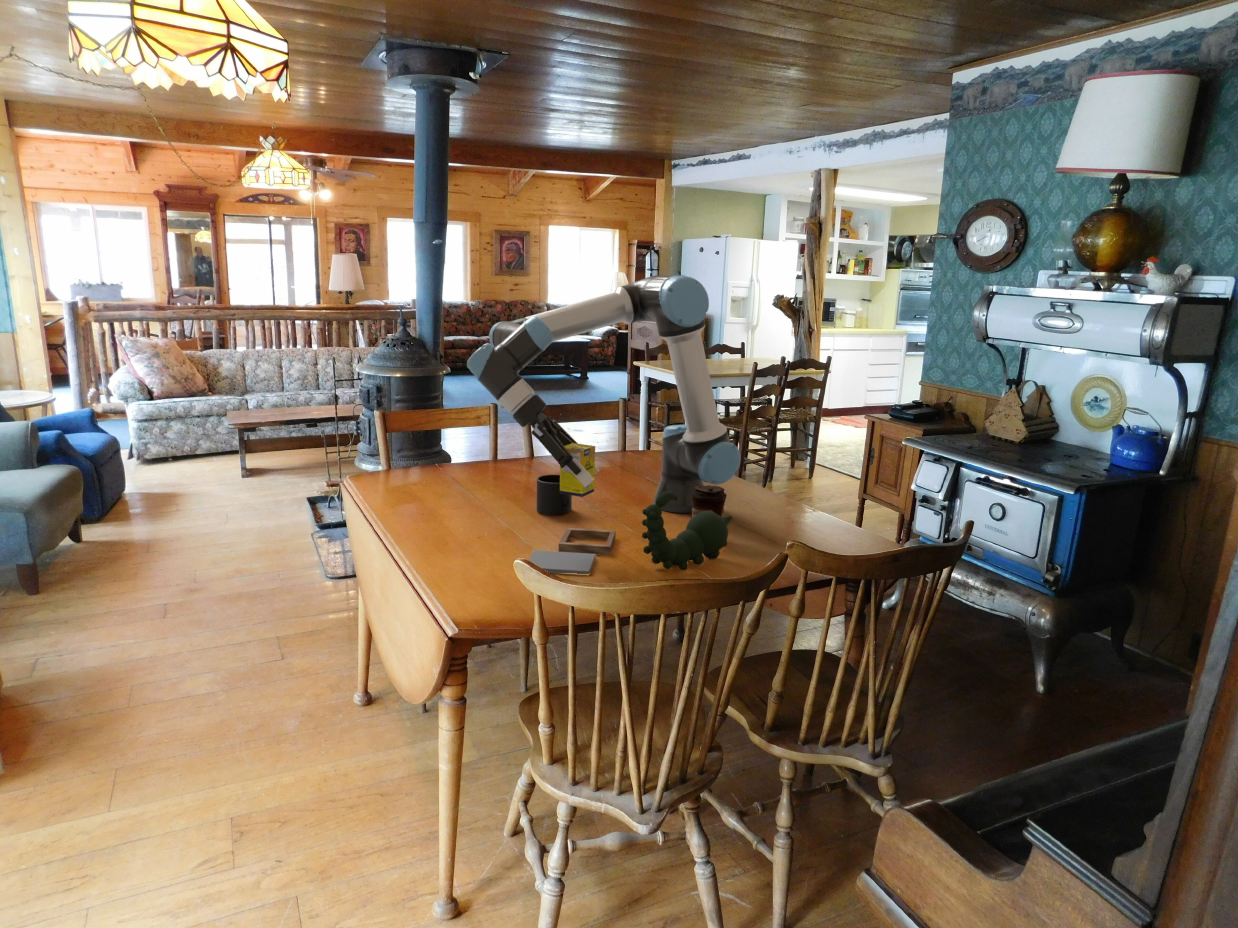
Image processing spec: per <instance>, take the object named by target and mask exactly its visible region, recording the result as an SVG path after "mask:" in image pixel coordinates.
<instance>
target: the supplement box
mask: <svg viewBox="0 0 1238 928" xmlns="http://www.w3.org/2000/svg"><path fill="white" fill-rule="evenodd" d="M577 443H578V442H577ZM577 443H571V444H568V445H565V446H564V447H565V448H566V449H567V451H568V452H569V453H570V455H571V456H572V457H573V459H574V458H576V459H577V460H578V462H579V463H580V464H581V465H582V466H583V467H584V468H585V469H586V470H587V471H588V472H589V473H590V475H591V476H592V477H593V478H594V480H593V481H592V482H591V483H590V484H589V485H588V486H586V487H584V486H583V485H582V483H581V482H580V481H579V480H578V479H577V478H576V477H575V476H574V475H573V474H572V473H571V472H570V471H569V469H568V468H567V467H566V466H565V467H563V468H561V467H560V466H559V467H560V468H559V469H560V470H559V475H560V494H567V495H572V497H573V496H575V497H580V498H584V497H586V496H587V495H590V494H592V493H593V492H595V478H596V477H595V466H596V445H592V444H591V445H590V444H584V443H583V444H582V443H578V444H577Z"/></svg>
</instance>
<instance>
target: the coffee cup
mask: <svg viewBox="0 0 1238 928" xmlns="http://www.w3.org/2000/svg"><path fill="white" fill-rule="evenodd" d="M726 499H727V493H725V488H724V487H722V486H717V485H704V486H696V487H695V490H694V491H693V492H692V500H693V506H692V513H691V514H692V515H691V516H692V517H694V516H695V515H697V514H698V513H701V512H713V513H716V514H718V515H719V516H720V517H724V511H725V509H724V508H725V504H726ZM692 517H691V518H692Z"/></svg>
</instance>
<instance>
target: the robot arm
mask: <svg viewBox="0 0 1238 928" xmlns="http://www.w3.org/2000/svg"><path fill="white" fill-rule="evenodd" d="M709 307H710V300H709V295H708V292H707V290H706V288H705V286H704V285H703V284H702V283H701V282H700V281H698V280H697V279H696V278H694V277H691V276H687V275H683V274H676V275H669V274H668V275H662V274H661V275H660V274H658V275H657V274H655V275H651V276H649V277H645V278H642V279H639V280H636V281H633V282H631V283H628V284H626V285H625V284H624V285H622V286H618V287H616V288H615V290H614V291H613V292H612V293H607V294H605V295H601V296H597V297H594V298H591V299H589V298H588V299H587V300H583V301H579V302H575V303H571V304H568V305H565V306H561V307H558V308H557V307H556V308H554V309H551V310H547V311H543V312H539V313H536V314H533V315H528V316H525V317H522V318H518V319H515V320H511V321H506V320H504V321H503V320H502V321H499V322H497V323H495V324H494V325H493V326H492V327H491V328H490V331H489V334H488V341H489V342H487V343H484V344H483V345H482V346H480V347H479V348H478V349H477V350H475V351H474V352H473V353H472V354H471V356H469V358H468V359H467V361H466V368H467V369H469V371H470V372H471V373H472V375H473V376H474V377H475V378H476V380H477V381H478V382H480V384H481V385H482V386H483V387H484V388H485V389H486V390H487V391H488V392H489V393H490V394H491V395H492V397H494V398H495V400H497V402H499V405H500V406H499V407H500V408H501V409H505V410H506V411H507V412H508V413H509V414H512V418H513V419H514V420H515V422H516V423H517V424H519V426H520V427H522V428H526V427H527V426H528V425H529V424H530V426H531V428H532V429H533V430H532V431H531V435H533V437H535V438H536V439H537V440H538V441H539V442H540V443H541V445H542V446H543V447H544V448H545V449H546V451H547V452H548V453H549V454H550V455H551V457H553V459H554V460H555V461H556V463H558V465H559V467H561V468H563V467H565V466H566V467H567V468H568V469H569V471H570V472H571V473H572V474H573V475H574V476H575V477H576V478H577V479H578V480H579V481H580V482H581V483H582V485H583V486H584V487H586V486H588V485H589V484H590V483H591V482H592V481H593V480H594V481H595V478H593V477H592V476H591V475H590V473H589V472H588V471H587V470H586V469H585V468H584V467H583V466H582V465H581V464H580V463H579V462H578V460H577V459H576V458H574V459H573V457H572V456H571V455H570V453H569V452H568V451H567V449H566V448H565V447H564V446H565V445H568V444H571V443H577V444H579V443H578V442H577V441H576V440H575V439H574V438H573V437H572V436H571V435H570V434H569V433H568V432H567V431H566V430H565V429H564V427H562V426H561V425H560V424H559V423H558V422H557V421H556V419H555V418H554V416H552V415H549V416H547V415H546V414H544V413H543V411H544V410H545V409H546V408H547V404H546V402H545V401H544V400H543V399H542V398H541V397H540V396H539V395H538V394H535V390H534V389H533V388H532V387H531V386H530V385H529V383H527V381H526V380H524V378H523V377H522V376H520V374H519V373H520V371H522V370H523V369H524V368H525V367H526V366H528V365H529V364H530V363H532V361H534V360H535V359H536V358H537V357H538V356H539V355H540V354H542V353H543V352H544V351H546V349H547V348H548V347H549V346H550V345H551V344H552V343H554V342H558V341H561V340H564V339H567V338H572V337H575V336H577V335H581V334H586V333H588V332H592V331H595V330H599V329H601V328H605V327H609V326H614V325H616V324H620V323H623V324H625V325H630V324H634V323H639V322H654V323H656V328H657V331H658V336H659V338H660V339H662V340H664V341H665V342H666V344H667V348H668V353H669V357H670V361H671V362H670V363H671V367H672V371H673V375H674V379H675V384H676V388H677V392H678V396H679V401H680V405H681V410H682V414H683V419H684V422H685V424H672V425H668V426H666V427H665V428H664V429H663V434H662V440H661V441H662V446H661V447H662V450H661V451H662V453H661V454H662V455H661V474H660V475H661V477H660V481H659V484H658V485H657V488H656V491H655V494H654V498H653V504H656V503H655V500H656V498H657V497H658V495H660V494H661V493H663V492H673V493H674V494H676V496H677V497H678V500H677V501H676V500H674V499H672V500H670V501H669V502H668V503H667V504H666V505H665V506H663V507H661V511H665V512H672V513H678V514H692V506H693V500H692V492H693V491H694V490H695V487H696V486H705V483H706V484H707V483H708V484H711V485H714V486H717V485H722V484H725V483H727V482H729V481H730V480H732V478H733V477H735V475H736V472H737V471H738V470H739V468H740V465H741V456H742V455H741V453H740V452H741V451H740V449H739V448H738V447H737V446H736V444H734V443H732V442H731V441H730V438H729V437H730V436H729V432H728V428H727V426H726V425H724V424H722V423H721V422H720V419H719V414H718V409H717V405H716V400H715V396H714V390H713V386H712V381H711V377H710V371H709V367H708V362H707V358H706V353H705V347H704V344H703V343H704V342H703V337H702V332H703V330H704V329H705V327H706V323H705V318H706V316H707V312H708V311H709ZM599 472H600V470H599V469H598V467H597V466H596V465H595V475H597V474H598V473H599Z"/></svg>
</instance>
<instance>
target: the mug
mask: <svg viewBox="0 0 1238 928" xmlns="http://www.w3.org/2000/svg"><path fill="white" fill-rule="evenodd" d="M572 497H573V495H567V494H560V474H546V475H544V474H543V475H540V476H538V477H536V511H537V513H538V514H540V515H543V516H550V517H551V516H553V517H555V516H557V517H558V516H565V515H568V514H570V513H571V512H572V510H573V509H572V508H573V507H572V505H573V504H572V502H573V498H572Z"/></svg>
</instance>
